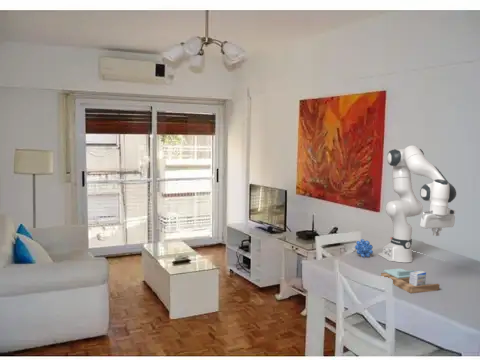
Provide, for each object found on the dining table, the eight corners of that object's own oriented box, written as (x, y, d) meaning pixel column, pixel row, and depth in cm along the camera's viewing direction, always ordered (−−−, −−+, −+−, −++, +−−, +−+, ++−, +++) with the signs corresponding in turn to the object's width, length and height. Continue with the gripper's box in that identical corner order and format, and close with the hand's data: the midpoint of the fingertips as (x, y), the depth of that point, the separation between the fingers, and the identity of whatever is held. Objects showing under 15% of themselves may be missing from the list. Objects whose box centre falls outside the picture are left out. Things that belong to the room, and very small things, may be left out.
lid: (383, 271, 248) (383, 266, 247) (401, 269, 252) (401, 264, 252) (398, 278, 236) (398, 273, 236) (417, 276, 240) (417, 271, 240)
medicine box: (416, 290, 227) (417, 274, 226) (408, 288, 231) (409, 272, 230) (425, 288, 232) (426, 272, 231) (417, 285, 235) (418, 269, 234)
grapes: (355, 258, 283) (356, 240, 282) (353, 255, 290) (354, 237, 289) (373, 259, 283) (375, 241, 281) (371, 256, 289) (372, 238, 288)
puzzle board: (380, 278, 245) (381, 272, 245) (406, 275, 252) (407, 270, 251) (411, 293, 223) (411, 287, 223) (439, 290, 229) (439, 284, 229)
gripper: (427, 212, 228) (424, 238, 230) (457, 210, 235) (455, 236, 237) (418, 209, 234) (416, 235, 236) (448, 208, 241) (446, 233, 243)
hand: (436, 235), depth 236 cm, fingers closed
